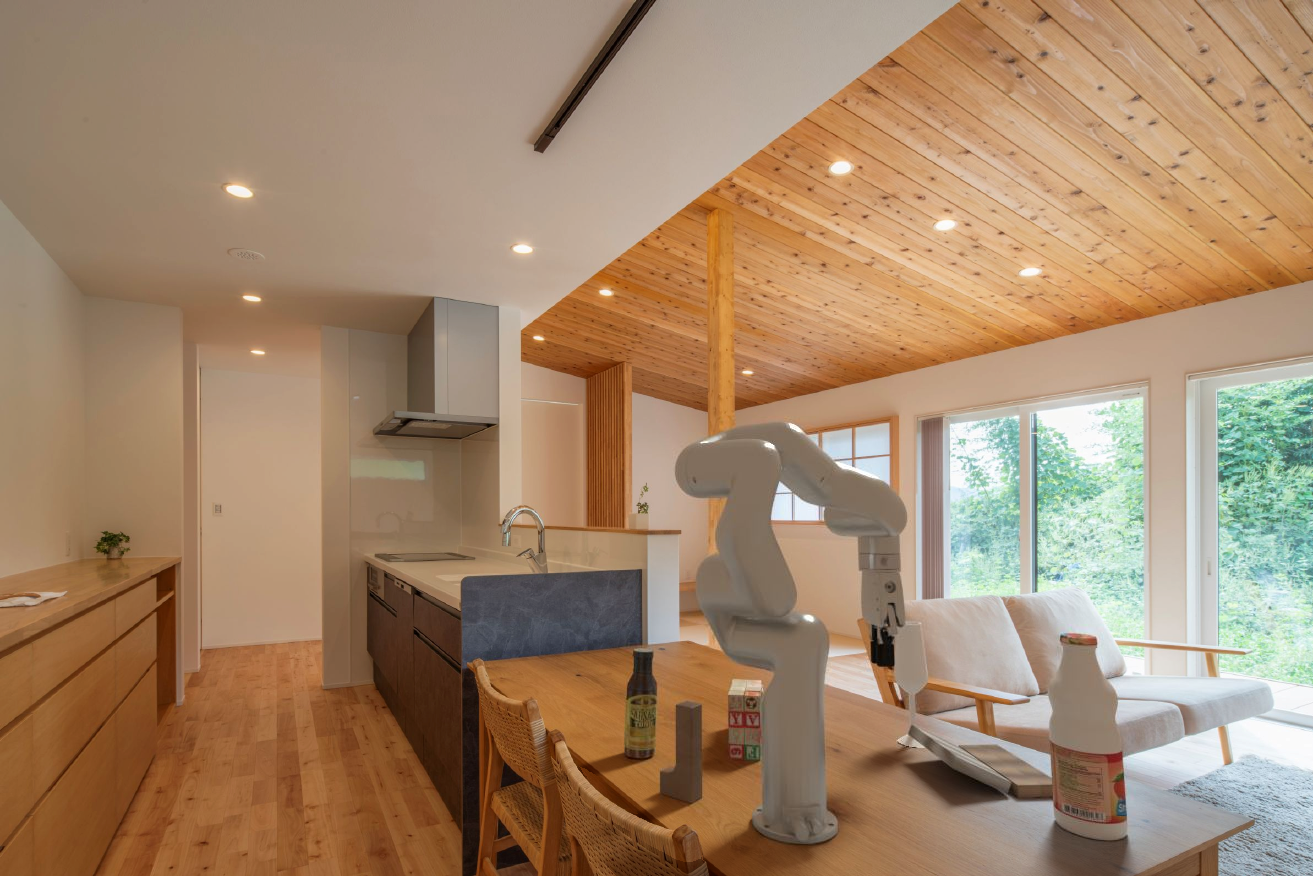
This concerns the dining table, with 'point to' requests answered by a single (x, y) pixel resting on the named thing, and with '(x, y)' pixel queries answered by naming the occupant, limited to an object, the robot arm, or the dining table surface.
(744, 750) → the stack of blocks
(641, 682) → the sauce bottle
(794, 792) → the robot arm
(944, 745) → the grey plank
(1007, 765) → the walnut floor strip
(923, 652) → the champagne flute
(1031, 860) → the dining table surface
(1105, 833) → the fruit juice
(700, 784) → the wooden block
